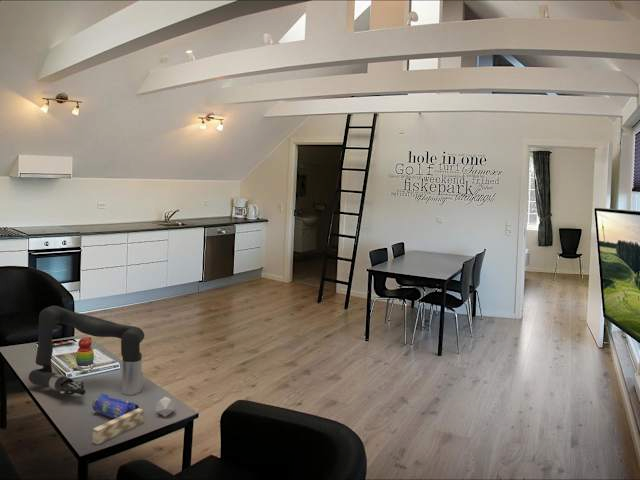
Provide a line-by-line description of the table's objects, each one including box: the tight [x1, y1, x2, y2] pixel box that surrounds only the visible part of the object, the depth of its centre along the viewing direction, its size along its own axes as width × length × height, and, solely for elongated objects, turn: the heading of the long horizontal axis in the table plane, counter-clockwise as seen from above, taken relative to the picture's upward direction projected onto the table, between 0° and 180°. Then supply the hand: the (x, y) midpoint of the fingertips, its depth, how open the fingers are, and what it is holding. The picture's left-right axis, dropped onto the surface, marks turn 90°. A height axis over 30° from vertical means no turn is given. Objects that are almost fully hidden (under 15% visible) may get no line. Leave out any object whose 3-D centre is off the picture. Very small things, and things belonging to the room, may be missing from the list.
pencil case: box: [91, 393, 141, 419], centre depth 236 cm, size 22×9×10 cm, turn 64°
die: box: [155, 396, 175, 418], centre depth 241 cm, size 8×9×10 cm
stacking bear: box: [75, 336, 95, 366], centre depth 289 cm, size 11×10×18 cm
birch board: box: [92, 407, 144, 445], centre depth 223 cm, size 24×3×6 cm, turn 151°
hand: (84, 392), depth 245 cm, fingers closed
